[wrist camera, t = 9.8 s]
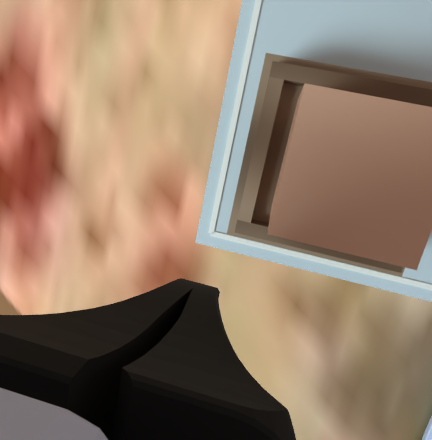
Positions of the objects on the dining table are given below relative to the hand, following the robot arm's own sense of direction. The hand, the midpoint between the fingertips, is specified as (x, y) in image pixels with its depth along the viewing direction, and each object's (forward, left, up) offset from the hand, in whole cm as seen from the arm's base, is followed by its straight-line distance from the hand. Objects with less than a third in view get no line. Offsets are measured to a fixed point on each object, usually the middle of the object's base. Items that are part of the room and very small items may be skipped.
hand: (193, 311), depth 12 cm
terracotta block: (+5, -4, -6) cm, 9 cm away
